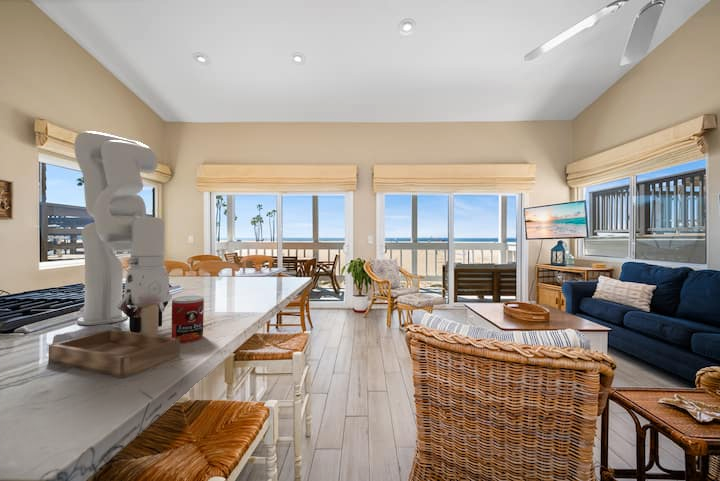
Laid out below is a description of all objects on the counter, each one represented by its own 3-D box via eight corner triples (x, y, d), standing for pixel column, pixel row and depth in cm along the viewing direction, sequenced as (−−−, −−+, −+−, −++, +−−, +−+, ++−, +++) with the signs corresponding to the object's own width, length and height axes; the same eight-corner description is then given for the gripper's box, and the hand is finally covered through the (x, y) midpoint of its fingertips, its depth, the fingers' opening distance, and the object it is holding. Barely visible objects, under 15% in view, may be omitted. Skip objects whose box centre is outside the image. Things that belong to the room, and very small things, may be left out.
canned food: (174, 345, 81) (175, 302, 81) (168, 337, 87) (169, 297, 87) (206, 339, 86) (207, 298, 86) (198, 332, 92) (199, 294, 92)
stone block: (46, 356, 77) (79, 351, 75) (44, 336, 78) (77, 331, 76) (96, 342, 89) (125, 338, 87) (94, 325, 89) (123, 320, 87)
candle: (131, 341, 83) (132, 303, 83) (136, 335, 88) (137, 299, 88) (156, 339, 85) (156, 302, 85) (159, 333, 90) (160, 298, 90)
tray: (48, 362, 69) (48, 345, 69) (111, 344, 81) (111, 329, 81) (123, 378, 62) (124, 358, 62) (179, 355, 74) (179, 339, 74)
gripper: (126, 265, 77) (124, 339, 77) (184, 261, 94) (183, 322, 94) (104, 263, 80) (102, 336, 80) (164, 260, 96) (163, 320, 96)
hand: (146, 328), depth 87 cm, fingers closed on candle, 5 cm apart
